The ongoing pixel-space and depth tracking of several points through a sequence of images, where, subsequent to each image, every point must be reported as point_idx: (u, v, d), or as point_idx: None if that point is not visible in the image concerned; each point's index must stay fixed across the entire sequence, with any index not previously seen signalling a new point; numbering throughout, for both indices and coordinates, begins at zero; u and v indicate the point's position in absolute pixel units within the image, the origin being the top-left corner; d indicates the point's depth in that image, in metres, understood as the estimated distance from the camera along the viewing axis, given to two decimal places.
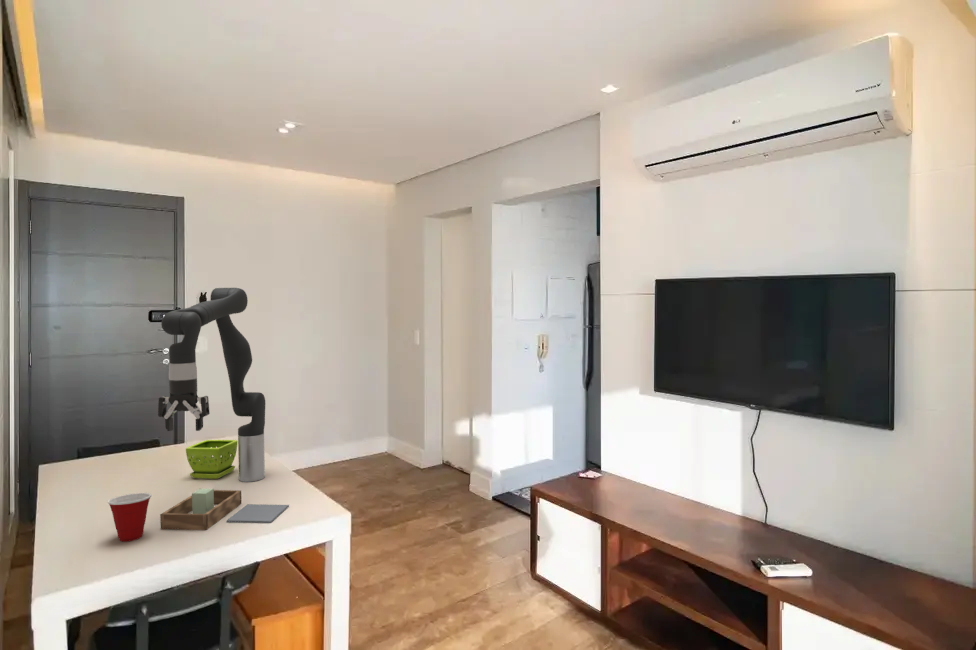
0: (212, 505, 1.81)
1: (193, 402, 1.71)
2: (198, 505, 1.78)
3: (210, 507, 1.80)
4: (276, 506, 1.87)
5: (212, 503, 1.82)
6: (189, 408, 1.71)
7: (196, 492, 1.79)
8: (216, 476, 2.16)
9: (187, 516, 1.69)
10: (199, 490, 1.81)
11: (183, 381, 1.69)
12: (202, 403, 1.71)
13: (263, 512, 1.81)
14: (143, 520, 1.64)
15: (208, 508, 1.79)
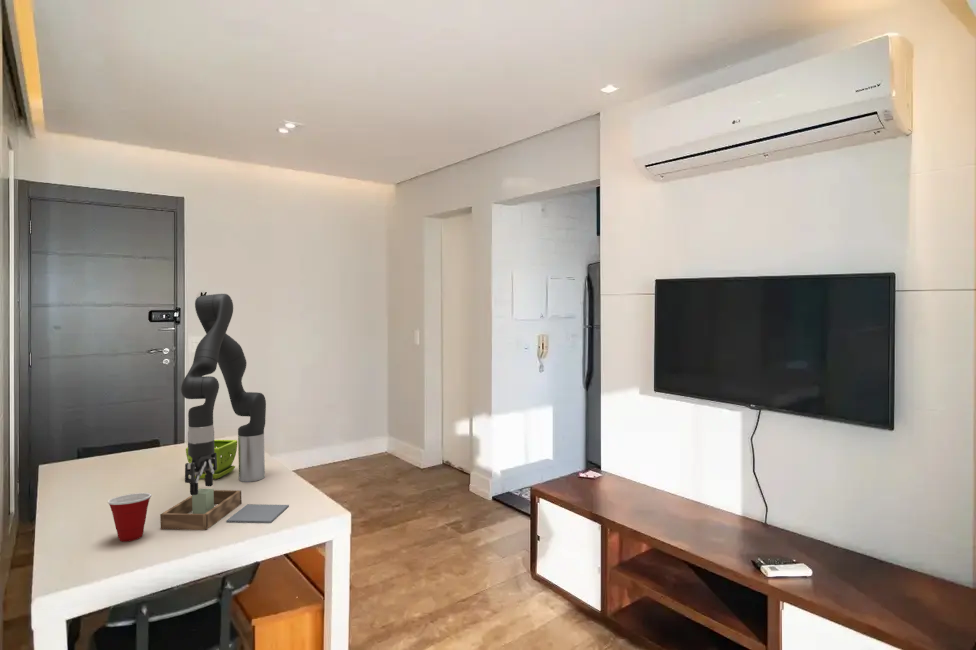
0: (212, 505, 1.81)
1: (210, 460, 1.83)
2: (198, 505, 1.78)
3: (210, 507, 1.80)
4: (276, 506, 1.87)
5: (212, 503, 1.82)
6: (211, 466, 1.82)
7: None
8: (216, 476, 2.16)
9: (187, 516, 1.69)
10: (199, 490, 1.81)
11: None
12: (215, 458, 1.86)
13: (263, 512, 1.81)
14: (143, 520, 1.64)
15: (208, 508, 1.79)
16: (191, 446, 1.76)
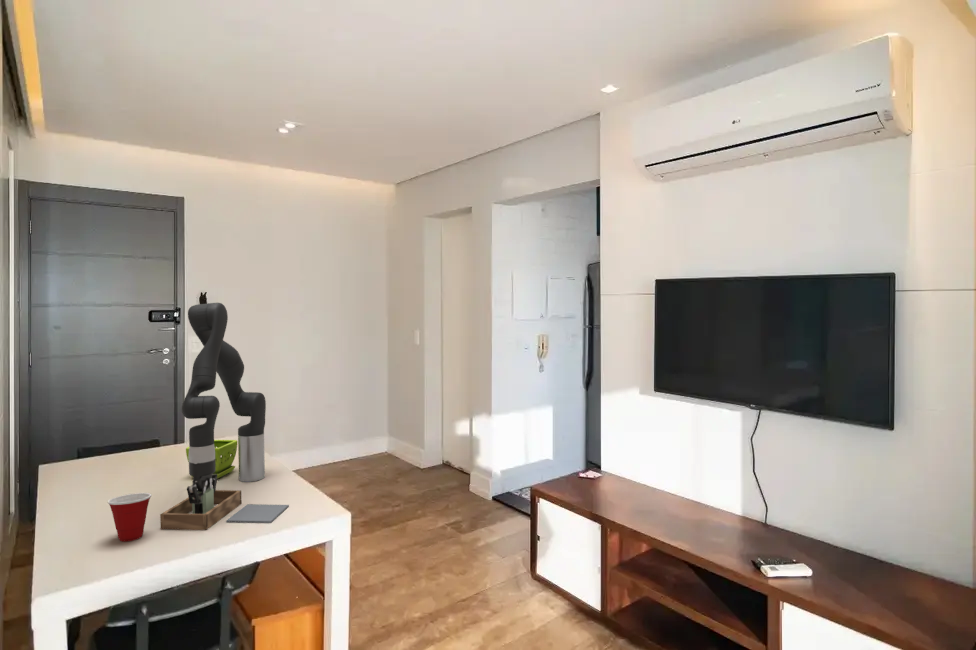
0: (212, 505, 1.82)
1: None
2: None
3: (210, 507, 1.80)
4: (276, 506, 1.87)
5: (212, 503, 1.82)
6: (212, 484, 1.82)
7: None
8: None
9: (187, 516, 1.69)
10: None
11: None
12: (215, 480, 1.85)
13: (263, 512, 1.81)
14: (143, 520, 1.64)
15: (208, 508, 1.79)
16: (192, 466, 1.76)
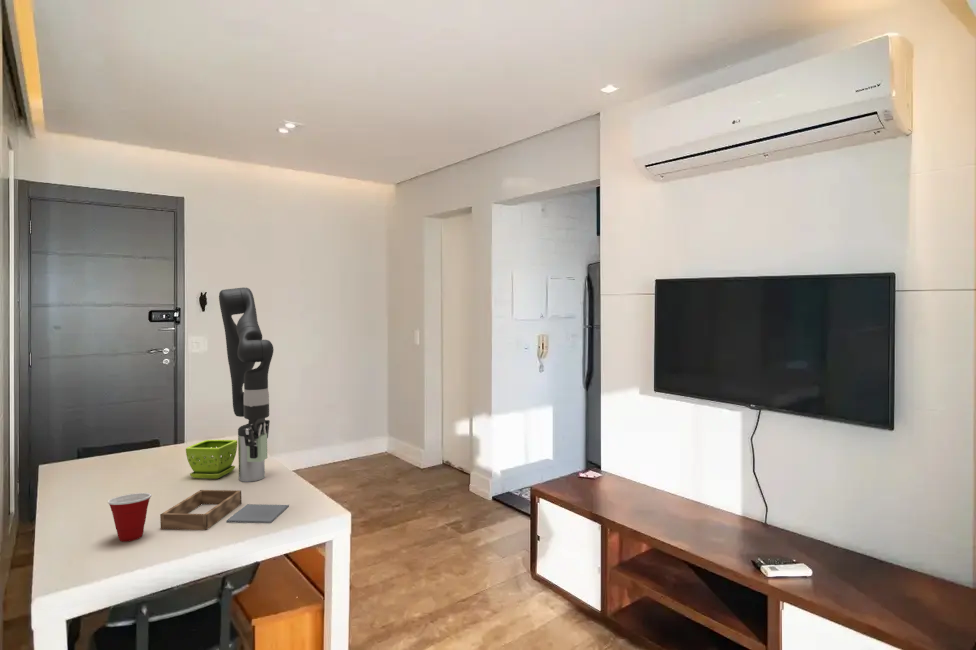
0: (266, 449, 1.82)
1: (264, 423, 1.84)
2: None
3: (264, 451, 1.81)
4: (276, 506, 1.87)
5: (266, 447, 1.82)
6: (265, 429, 1.83)
7: None
8: (216, 476, 2.16)
9: (187, 516, 1.69)
10: None
11: None
12: (268, 426, 1.86)
13: (263, 512, 1.81)
14: (143, 520, 1.64)
15: (262, 452, 1.80)
16: (248, 409, 1.77)
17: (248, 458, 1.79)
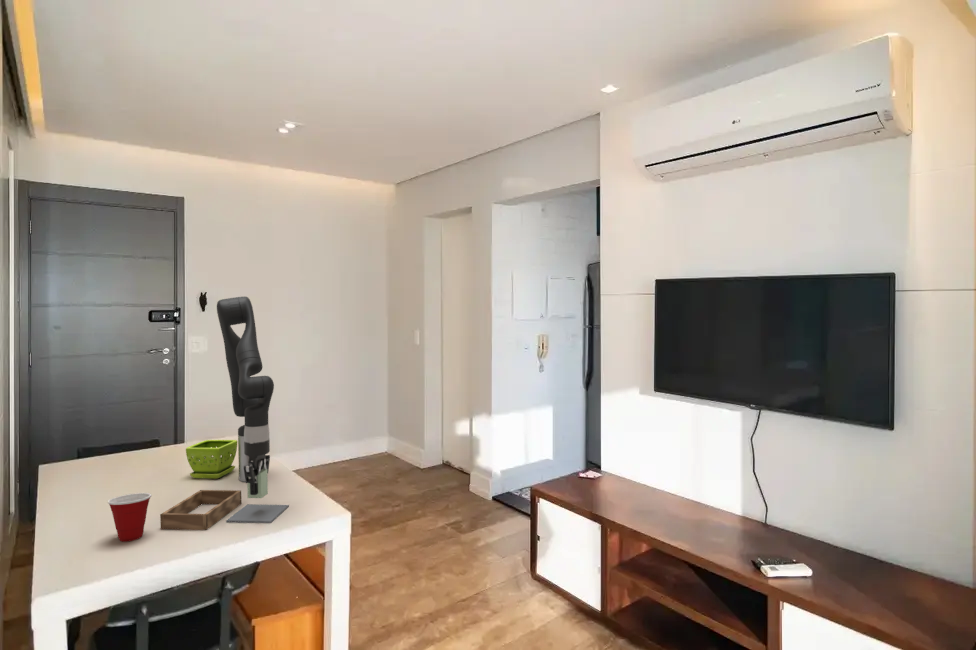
0: (266, 485, 1.82)
1: None
2: None
3: (264, 487, 1.81)
4: (276, 506, 1.87)
5: (266, 483, 1.82)
6: (266, 465, 1.83)
7: None
8: (216, 476, 2.16)
9: (187, 516, 1.69)
10: None
11: (269, 439, 1.82)
12: (268, 461, 1.86)
13: (263, 512, 1.81)
14: (143, 520, 1.64)
15: (263, 488, 1.80)
16: (248, 445, 1.77)
17: (248, 494, 1.79)
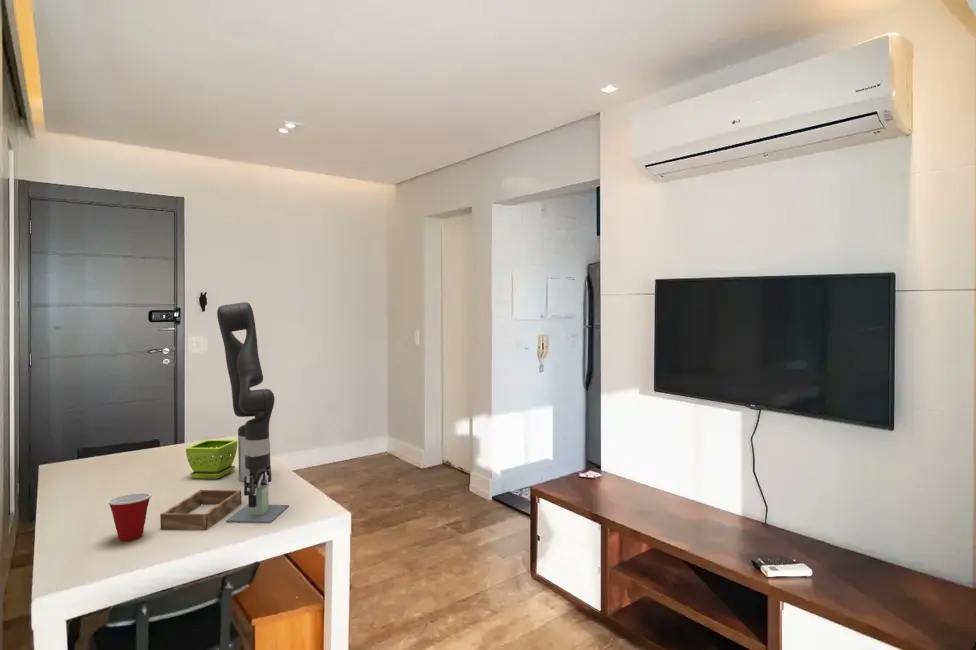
0: (267, 501, 1.83)
1: None
2: None
3: (265, 503, 1.82)
4: (276, 506, 1.87)
5: (267, 499, 1.83)
6: (266, 478, 1.84)
7: None
8: (216, 476, 2.16)
9: (187, 516, 1.69)
10: None
11: None
12: (269, 470, 1.87)
13: None
14: (143, 520, 1.64)
15: (264, 504, 1.81)
16: (249, 459, 1.77)
17: (249, 511, 1.80)
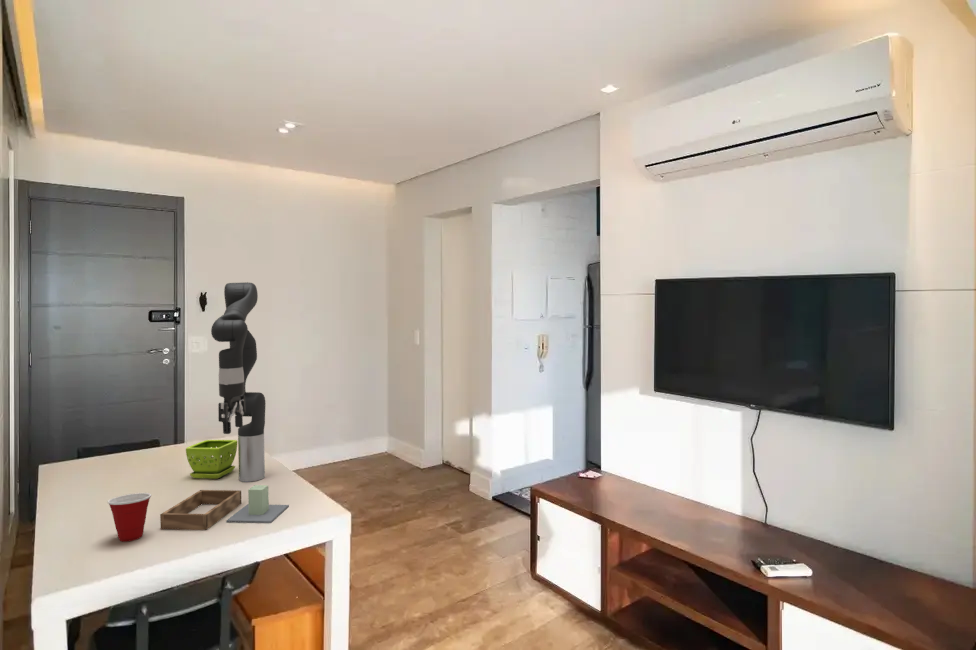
0: (267, 501, 1.83)
1: None
2: (254, 501, 1.79)
3: (265, 503, 1.82)
4: (276, 506, 1.87)
5: (267, 499, 1.83)
6: (241, 407, 1.88)
7: (252, 488, 1.80)
8: (216, 476, 2.16)
9: (187, 516, 1.69)
10: (254, 486, 1.82)
11: None
12: (244, 400, 1.91)
13: None
14: (143, 520, 1.64)
15: (264, 504, 1.81)
16: (223, 387, 1.81)
17: (249, 511, 1.80)
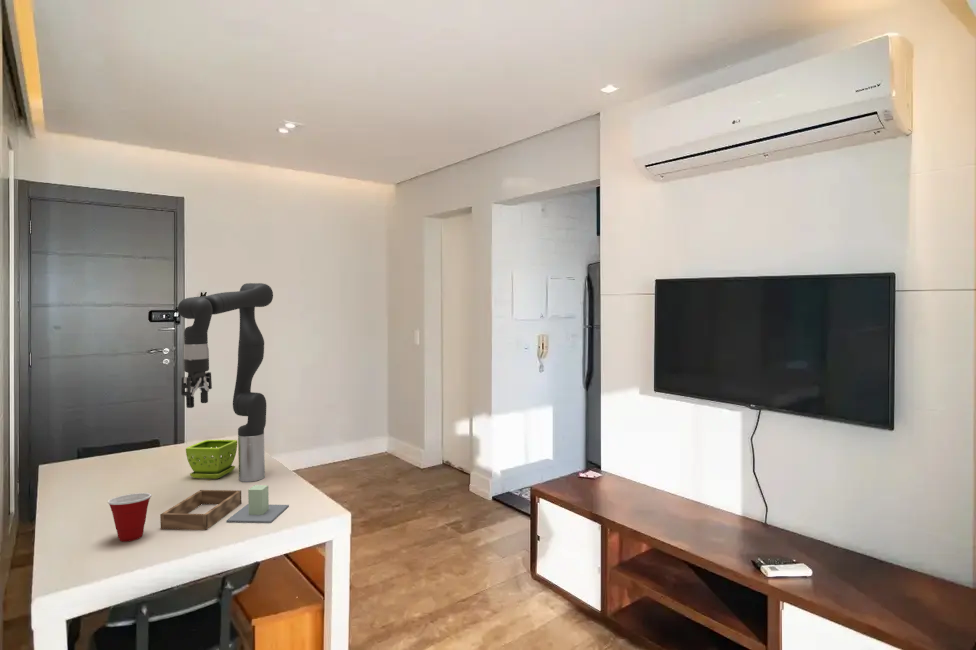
0: (267, 501, 1.83)
1: None
2: (254, 501, 1.79)
3: (265, 503, 1.82)
4: (276, 506, 1.87)
5: (267, 499, 1.83)
6: (206, 383, 1.93)
7: (252, 488, 1.80)
8: (216, 476, 2.16)
9: (187, 516, 1.69)
10: (254, 486, 1.82)
11: (208, 359, 1.92)
12: (210, 377, 1.97)
13: None
14: (143, 520, 1.64)
15: (264, 504, 1.81)
16: (187, 362, 1.87)
17: (249, 511, 1.80)
